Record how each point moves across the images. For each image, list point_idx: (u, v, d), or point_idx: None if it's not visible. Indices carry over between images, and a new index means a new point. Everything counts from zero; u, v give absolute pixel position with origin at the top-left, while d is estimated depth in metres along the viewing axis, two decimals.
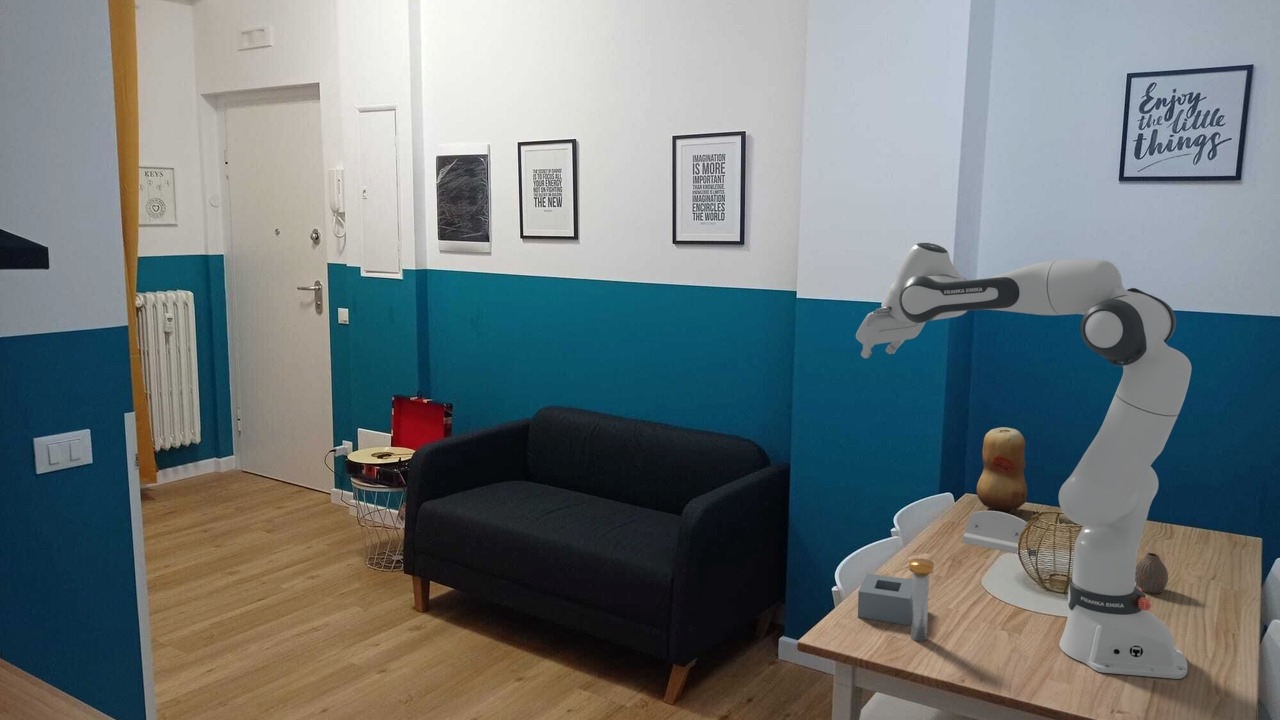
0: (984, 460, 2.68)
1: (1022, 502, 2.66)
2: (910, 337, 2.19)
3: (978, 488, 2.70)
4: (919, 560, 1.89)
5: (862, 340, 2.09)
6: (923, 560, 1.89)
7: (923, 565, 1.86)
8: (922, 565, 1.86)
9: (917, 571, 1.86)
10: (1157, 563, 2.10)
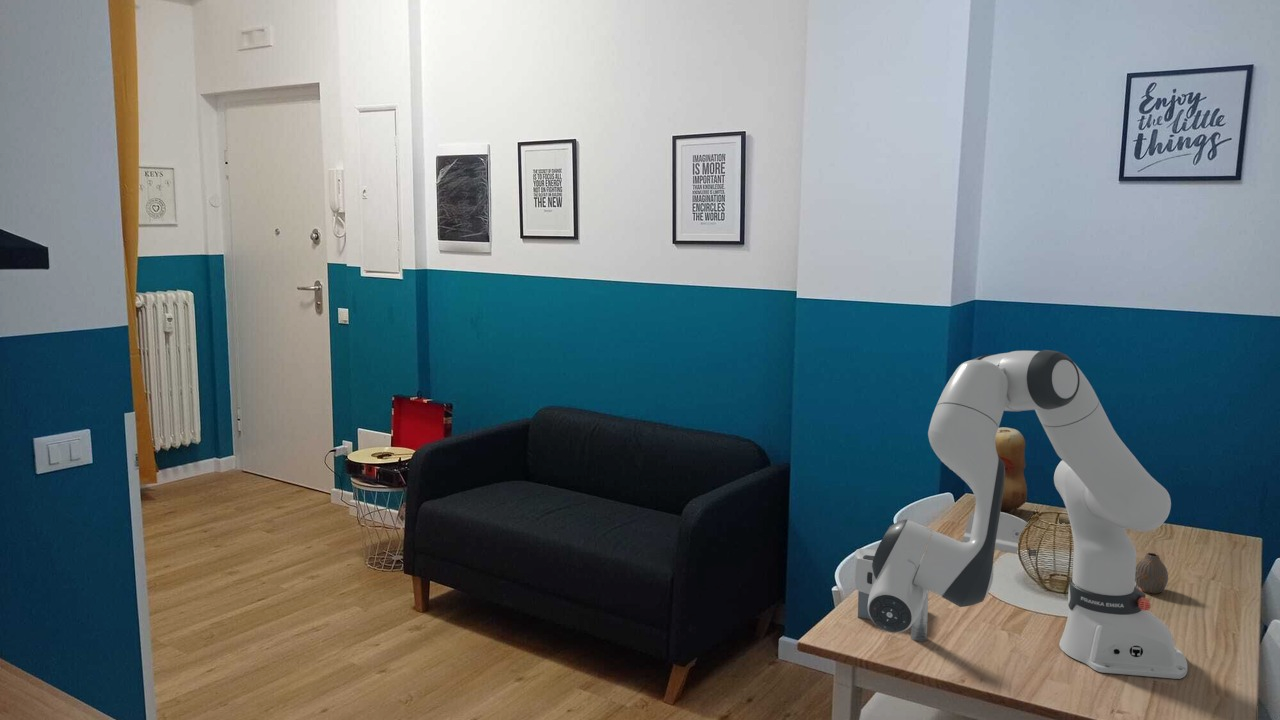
0: None
1: (1022, 502, 2.66)
2: (872, 550, 1.74)
3: None
4: None
5: None
6: None
7: None
8: None
9: None
10: (1157, 563, 2.10)
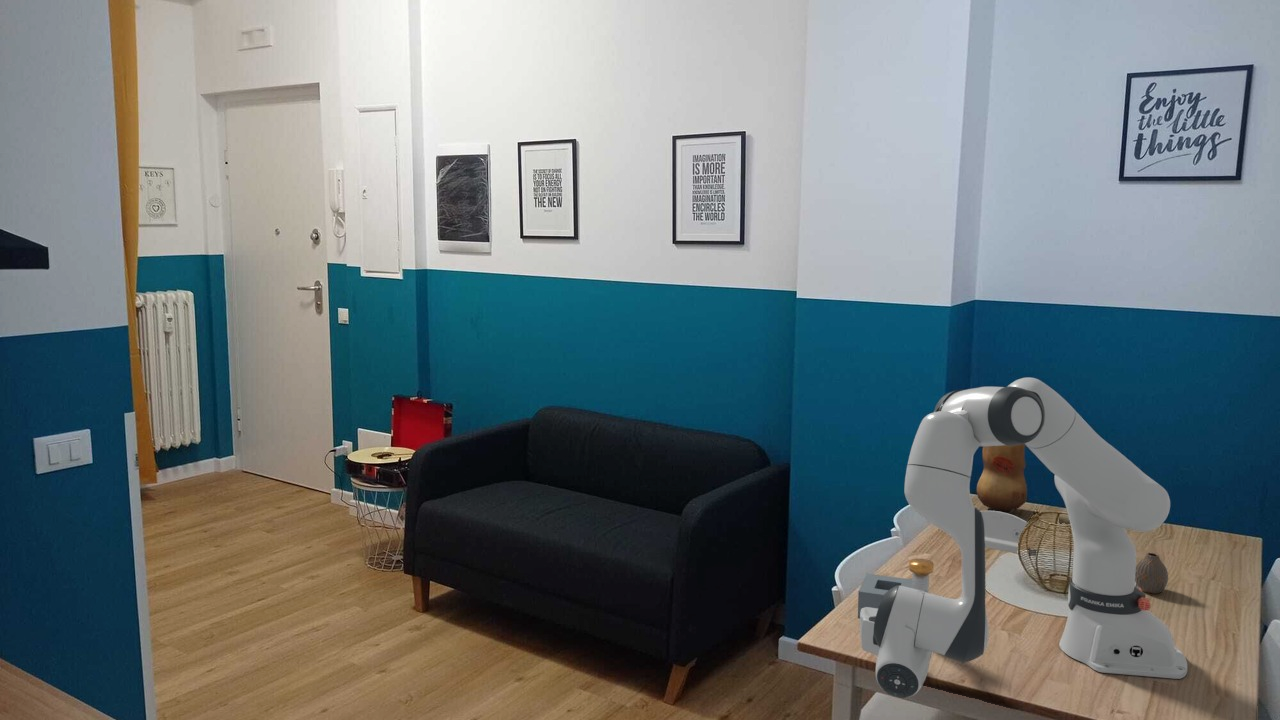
0: (984, 460, 2.68)
1: (1022, 502, 2.66)
2: (876, 609, 1.80)
3: (978, 488, 2.70)
4: (919, 560, 1.89)
5: None
6: (923, 560, 1.89)
7: (923, 565, 1.86)
8: (922, 565, 1.86)
9: (917, 571, 1.86)
10: (1157, 563, 2.10)
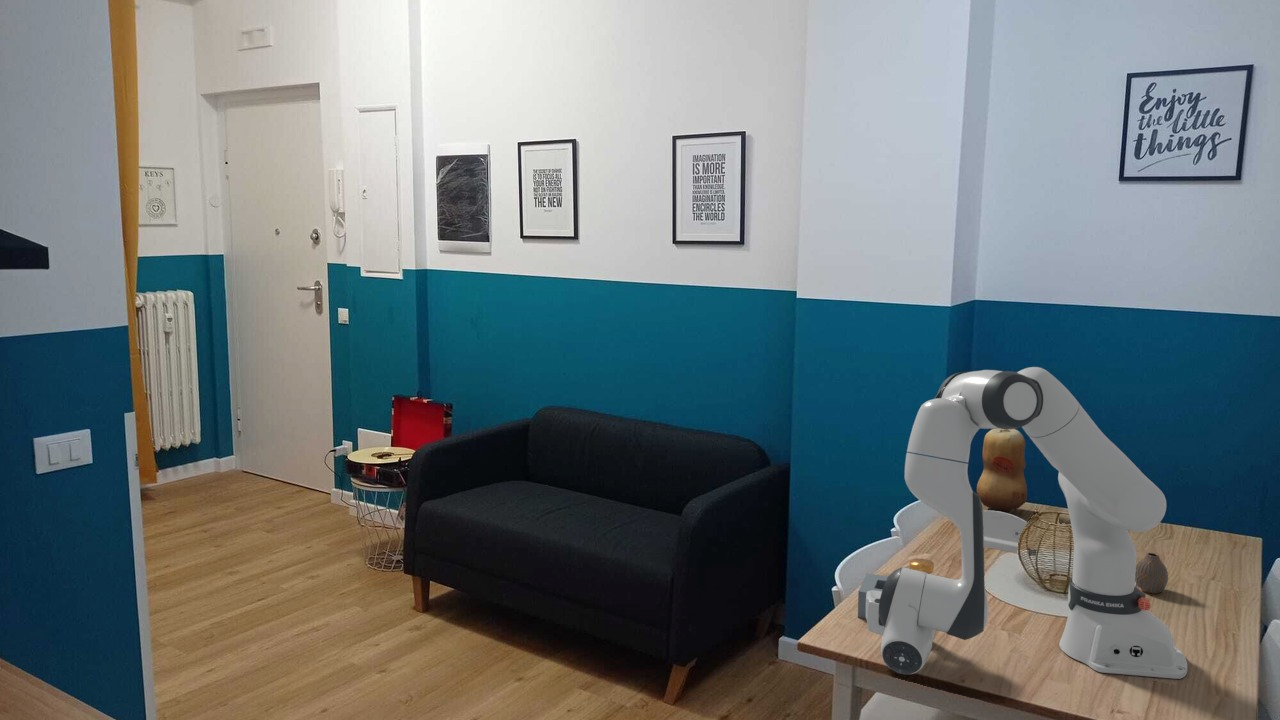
0: (984, 460, 2.68)
1: (1022, 502, 2.66)
2: (881, 592, 1.87)
3: (978, 488, 2.70)
4: (919, 560, 1.89)
5: None
6: (923, 560, 1.89)
7: (923, 565, 1.86)
8: (922, 565, 1.86)
9: None
10: (1157, 563, 2.10)
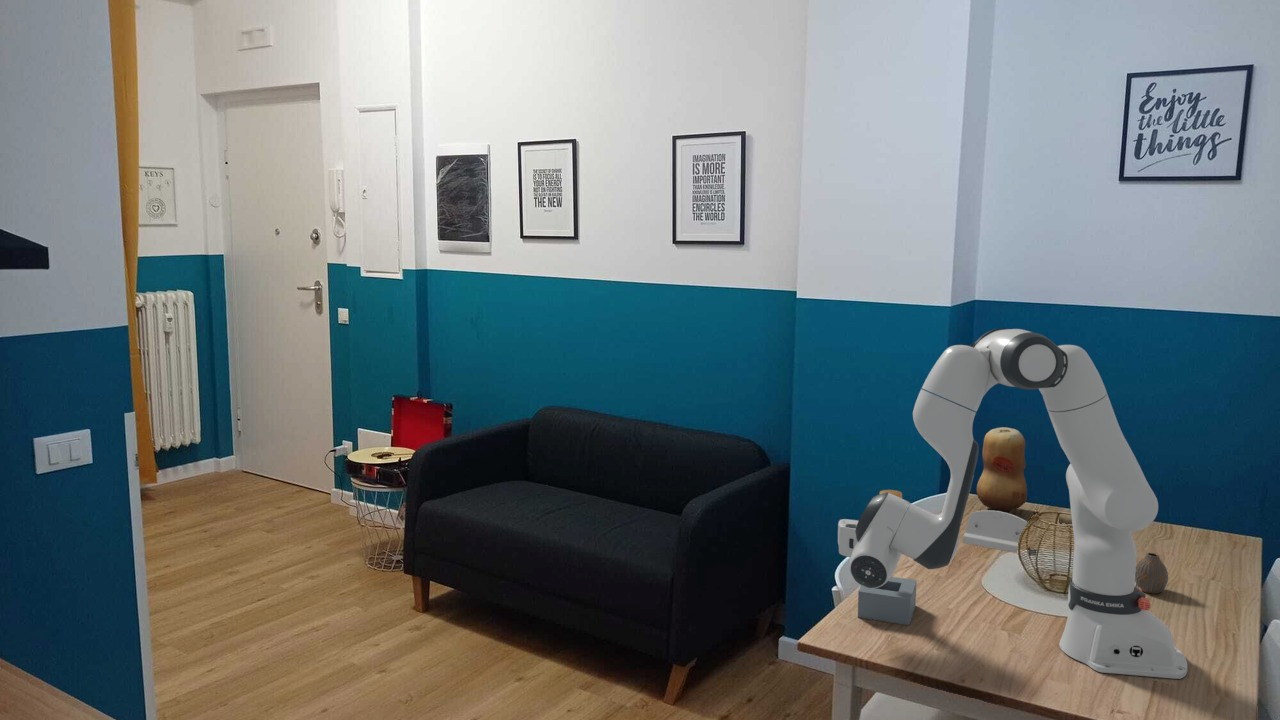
0: (984, 460, 2.68)
1: (1022, 502, 2.66)
2: (853, 520, 1.99)
3: (978, 488, 2.70)
4: (889, 491, 2.01)
5: None
6: (892, 491, 2.00)
7: None
8: None
9: None
10: (1157, 563, 2.10)
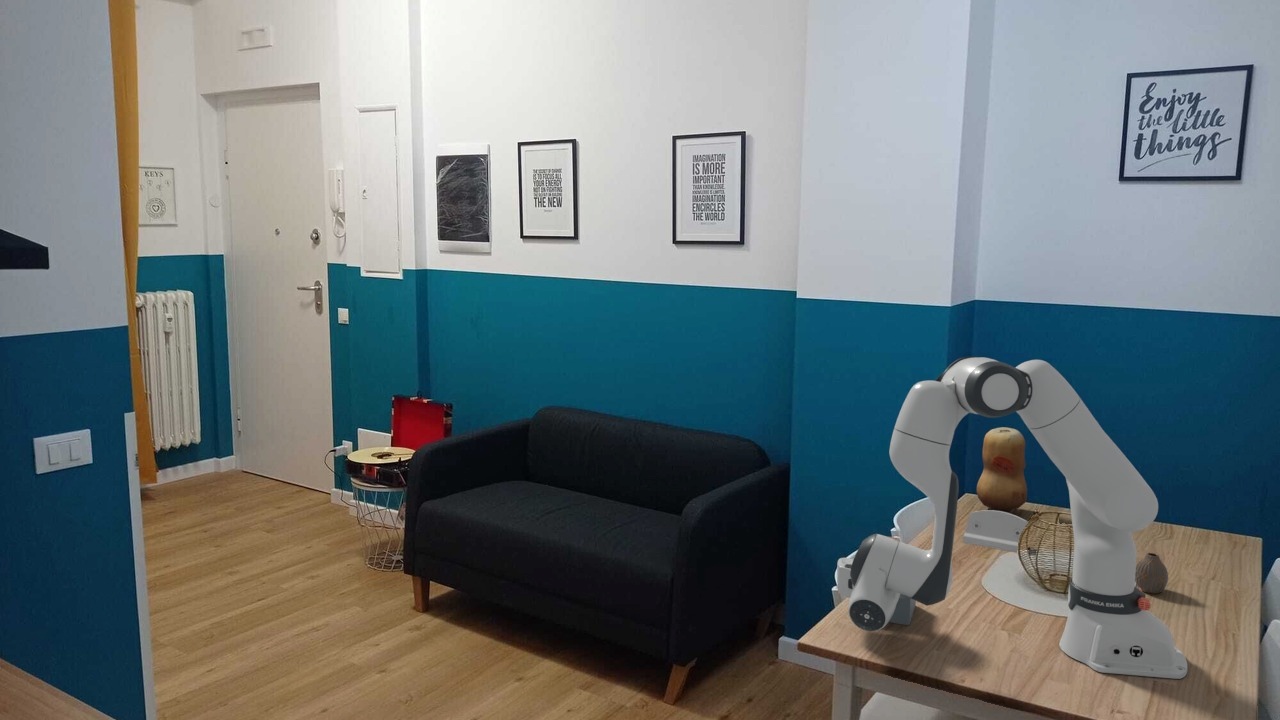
0: (984, 460, 2.68)
1: (1022, 502, 2.66)
2: (852, 559, 2.00)
3: (978, 488, 2.70)
4: None
5: None
6: None
7: None
8: None
9: None
10: (1157, 563, 2.10)
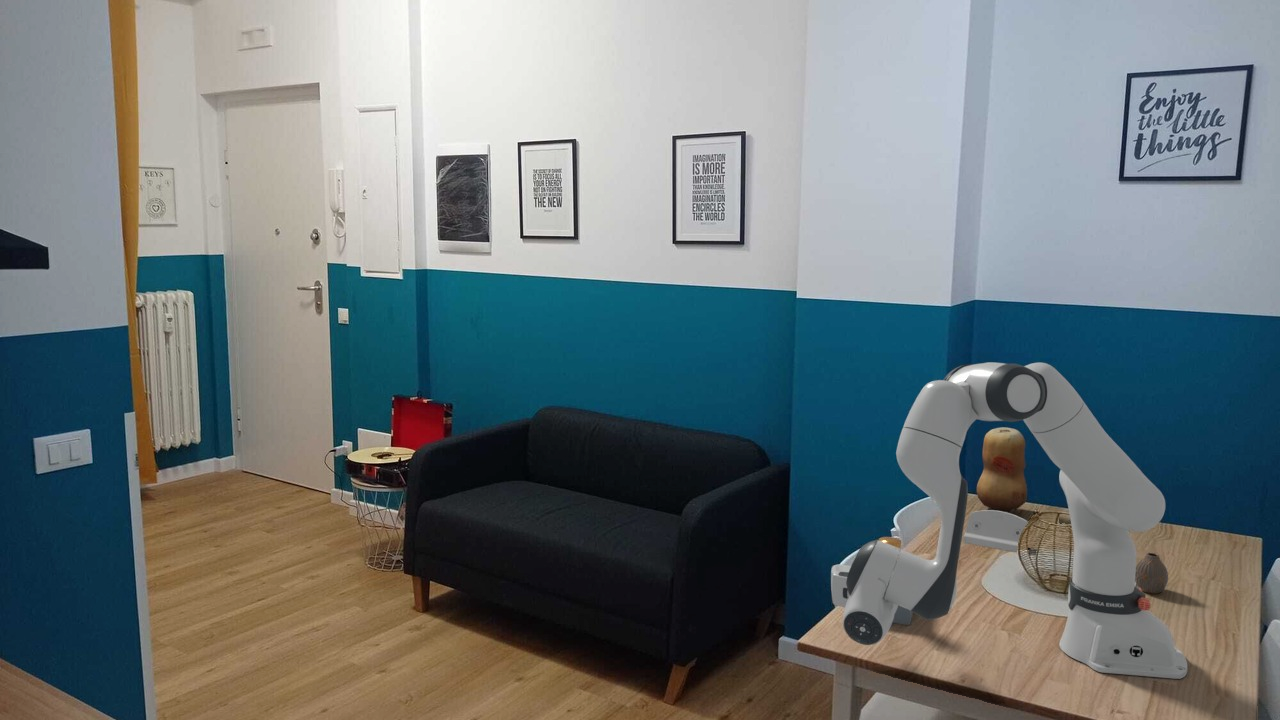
0: (984, 460, 2.68)
1: (1022, 502, 2.66)
2: (847, 565, 1.87)
3: (978, 488, 2.70)
4: (888, 538, 2.02)
5: None
6: (891, 538, 2.02)
7: (891, 542, 1.99)
8: (890, 542, 1.99)
9: None
10: (1157, 563, 2.10)
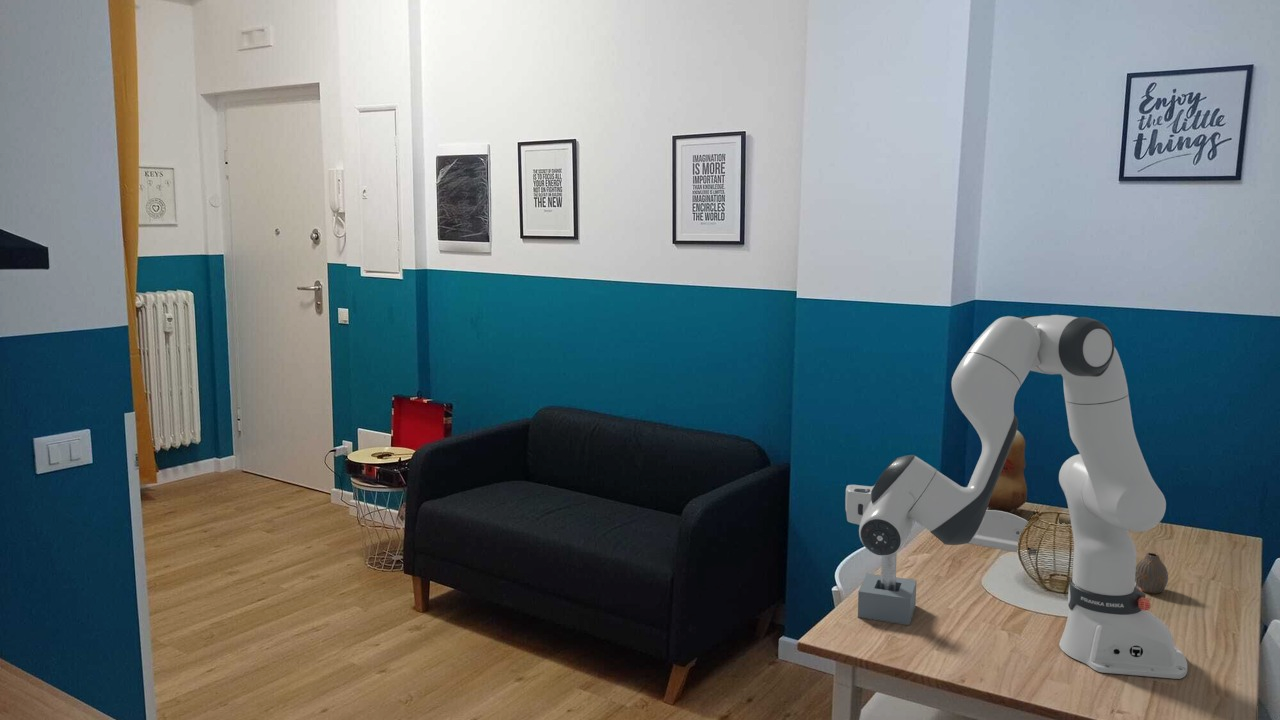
0: None
1: (1022, 502, 2.66)
2: None
3: None
4: None
5: None
6: None
7: None
8: None
9: None
10: (1157, 563, 2.10)
